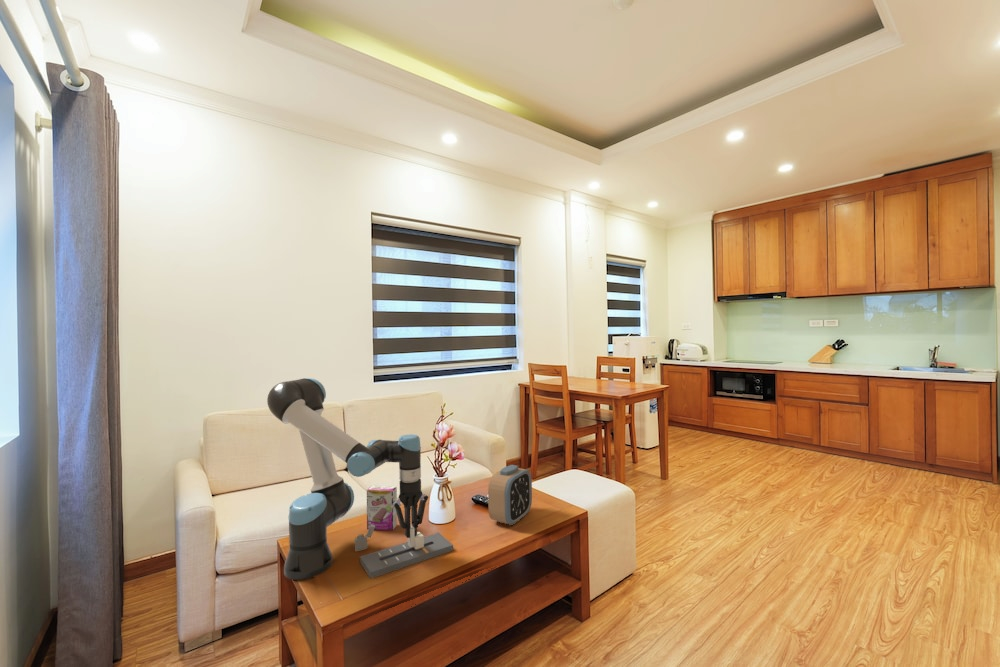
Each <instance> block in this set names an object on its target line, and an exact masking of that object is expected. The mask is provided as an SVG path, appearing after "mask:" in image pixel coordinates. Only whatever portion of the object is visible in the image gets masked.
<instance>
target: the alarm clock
mask: <svg viewBox="0 0 1000 667" xmlns="http://www.w3.org/2000/svg"><path fill="white" fill-rule="evenodd" d="M489 479H490V480H489V483H488V488H487V489H488V492H487V494H488V500H487V504H488V515H489V518H490V519H491V520H493V521H496V523H499V522H500V523H499V524H502V523H505V524H504V525H506V524H509V525H508V526H510V525H513V524H515V523H516V522H517V521H518V522H519V521H521V520H522V519H523V518H525V516H526V515H527V514H528V513H529V512H530V510H531V507H532V502H533V500H532V499H533V490H532V488H533V481H532V480H533V478H532V474H531V471H530V470H528V469H525V468H519V465H515V464H509V465H507V466H505V467H503V468H501V469H500V470H499V471H497V472H496V473H494V474H493V475H492V476H491V478H489ZM522 517H523V518H522ZM521 518H522V519H521ZM520 519H521V520H520ZM518 522H517V523H518ZM517 523H516V524H517ZM516 524H515V525H516ZM513 526H514V525H513Z"/></svg>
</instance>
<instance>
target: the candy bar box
mask: <svg viewBox="0 0 1000 667" xmlns="http://www.w3.org/2000/svg"><path fill="white" fill-rule="evenodd" d="M397 490H398V488H397V486H387V485H383V486H382V485H370V486H369V487H368V488H367V489H366V529H367V530H369V528H370V526H371V524H372V525H375V529H374V530H377V531H394V529H395V528H396V527H397V526H398V516H397V512H396V509H395V507H394V506H393V504H392V503H393V502H394V501H395V502H396V501H397V500H398V497H397V495H398V493H397Z"/></svg>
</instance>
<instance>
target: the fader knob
mask: <svg viewBox="0 0 1000 667" xmlns="http://www.w3.org/2000/svg"><path fill="white" fill-rule="evenodd" d="M424 537H425V536H424V534H422V533H421V532H420V531H417V535H416V536H415V546H414V547H413V548H414V549H415V550H418V549H422V548H424Z"/></svg>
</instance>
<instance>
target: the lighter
mask: <svg viewBox="0 0 1000 667" xmlns="http://www.w3.org/2000/svg"><path fill="white" fill-rule="evenodd" d="M374 529H375V525H372V524H371V526H370V528H369V529H367V533H366V535H364V533H360V534H358V535H357V536H356V537H354V552H359V551H364V550H367V549H368V538H372V535H373V533H374Z"/></svg>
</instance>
